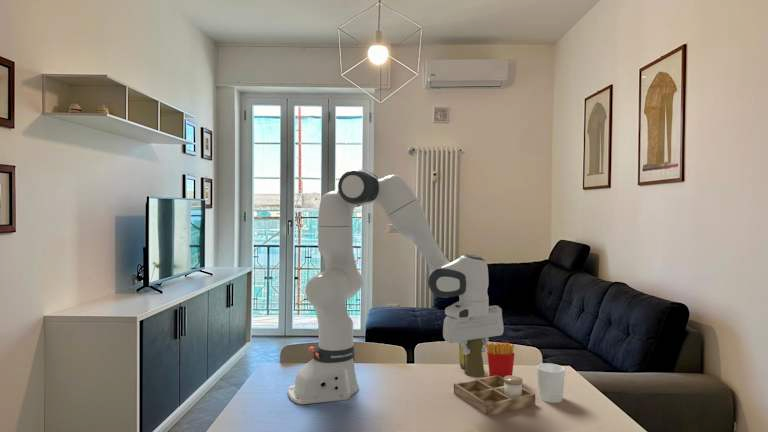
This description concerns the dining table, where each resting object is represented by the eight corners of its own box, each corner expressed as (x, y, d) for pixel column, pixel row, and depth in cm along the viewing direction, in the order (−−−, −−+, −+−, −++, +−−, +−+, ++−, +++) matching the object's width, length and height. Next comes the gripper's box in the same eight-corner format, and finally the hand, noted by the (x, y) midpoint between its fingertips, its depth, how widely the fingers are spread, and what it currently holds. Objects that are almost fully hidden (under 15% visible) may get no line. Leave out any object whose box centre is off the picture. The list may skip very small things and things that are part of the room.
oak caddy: (487, 418, 131) (487, 405, 131) (453, 395, 147) (453, 383, 146) (535, 406, 138) (535, 394, 138) (498, 386, 154) (498, 374, 154)
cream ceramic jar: (511, 406, 137) (511, 383, 137) (499, 399, 142) (499, 377, 141) (526, 403, 139) (526, 380, 139) (514, 396, 144) (514, 374, 144)
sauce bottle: (479, 365, 173) (479, 312, 172) (472, 371, 168) (472, 315, 167) (462, 362, 176) (462, 310, 176) (455, 367, 171) (455, 313, 170)
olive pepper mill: (484, 377, 140) (484, 341, 140) (464, 376, 142) (463, 340, 141) (484, 370, 146) (484, 335, 146) (464, 369, 148) (464, 334, 147)
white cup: (547, 407, 138) (547, 373, 138) (531, 396, 145) (531, 364, 145) (570, 404, 140) (570, 370, 140) (553, 393, 147) (554, 362, 147)
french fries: (512, 378, 160) (512, 340, 160) (515, 383, 156) (515, 344, 155) (485, 378, 161) (485, 340, 160) (487, 383, 156) (487, 344, 156)
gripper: (495, 302, 151) (495, 345, 151) (440, 309, 142) (440, 354, 143) (507, 306, 145) (508, 351, 145) (451, 313, 137) (451, 360, 137)
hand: (474, 352), depth 144 cm, fingers closed on olive pepper mill, 4 cm apart
